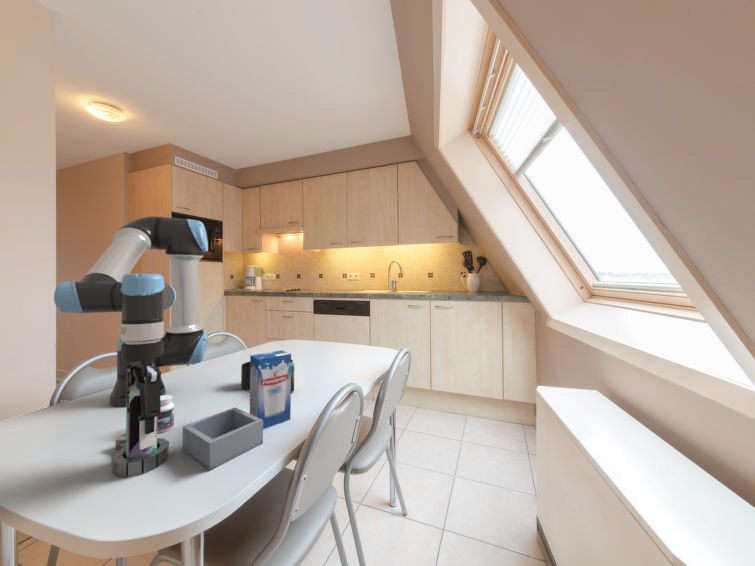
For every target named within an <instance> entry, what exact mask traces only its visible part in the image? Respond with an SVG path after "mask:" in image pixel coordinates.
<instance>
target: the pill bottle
mask: <svg viewBox="0 0 755 566" xmlns="http://www.w3.org/2000/svg"><path fill="white" fill-rule="evenodd" d="M172 401H173V395H171V394H164V395H162V396H160V408H161V414H160V415H159V416H157V434H162V433H165V432H167V431H170V430H172V429H173V428H174V426H175V404H174V403H173V402H172Z"/></svg>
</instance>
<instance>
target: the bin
mask: <svg viewBox="0 0 755 566" xmlns="http://www.w3.org/2000/svg"><path fill="white" fill-rule="evenodd" d="M262 444H264V429H263V420H262V419H260V418H257V417H255V416H253V415H251V414H250V412H249V413H248V412H246V411H245V410H243V409H239V408H237V407H231V408H230V409H226V410H224V411H221V412H218V413H216V414H213V415H211V416H208V417H205V418H202V419H199V420H197V421H194V422H191V423H188V424H186V425H183V426H182V451H183V452H184V453H185V454H186V455H188V456H189V457H190V458H192V459H193V460H194V461H196V462H197V463H198V464H200V465H201V466H202V467H204V468H205V469H207V470H208V471H211V470H212V471H213V470H214V469H216V468H217V467H220V466H222V465H224V464H225V463H228V462H229V461H231V460H233V459H235V458H237V457H239V456H241V455H243V454H245V453H247V452H249V451H251V450H253V449H254V448H256V447H258V446H261V445H262Z"/></svg>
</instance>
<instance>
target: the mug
mask: <svg viewBox="0 0 755 566" xmlns="http://www.w3.org/2000/svg"><path fill="white" fill-rule="evenodd" d="M240 369H241V374H240V376H241V377H240V378H241V383H240V384H241V386H240V387H241V389H242V390H244V391H250V361H246V362H244V363H242V364H241V368H240Z"/></svg>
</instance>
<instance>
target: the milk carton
mask: <svg viewBox="0 0 755 566" xmlns="http://www.w3.org/2000/svg"><path fill="white" fill-rule="evenodd" d="M249 357H250V359H249V360H250V361H249V362H250V390H249V414H251V415H253V416H255V417H257V418H260V419H262V420H263V430H265V429H267V428H268V429H269V428H270V427H273V426H276V425H279V424H282V423H284V422H287V421H290V420H291V415H292V413H291V410H292V409H291V407H292V406H291V401H292V398H291V397H292V396H291V395H292V393H291V360H292V354H291V353H289V352H287V351H285V350H283V349H282V350H276V351H270V352H264V353H256V354H251V355H249Z"/></svg>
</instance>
